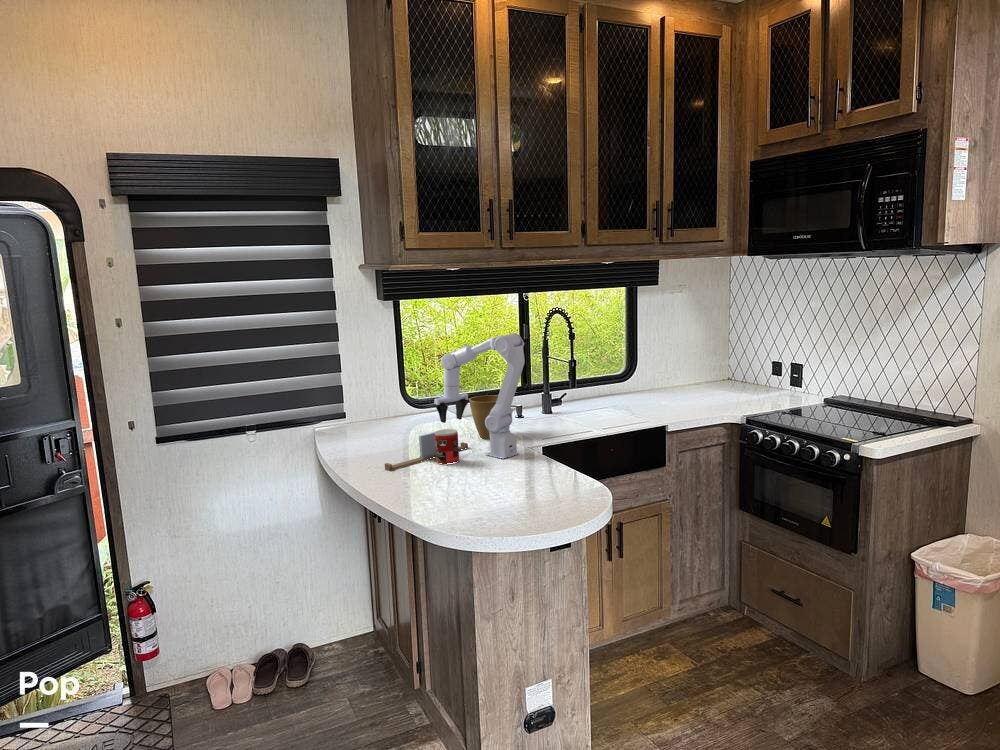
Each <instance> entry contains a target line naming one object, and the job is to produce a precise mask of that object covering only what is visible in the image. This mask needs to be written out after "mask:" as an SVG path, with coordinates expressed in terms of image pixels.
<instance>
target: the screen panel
mask: <svg viewBox="0 0 1000 750" xmlns="http://www.w3.org/2000/svg"><path fill="white" fill-rule="evenodd" d="M435 432H436V431H433V432H429V433H425V434H421V435H419V436H418V440H419V441H418V442H419V444H418V445H419V458H427V457H430V456H434V455H436V445H435Z"/></svg>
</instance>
